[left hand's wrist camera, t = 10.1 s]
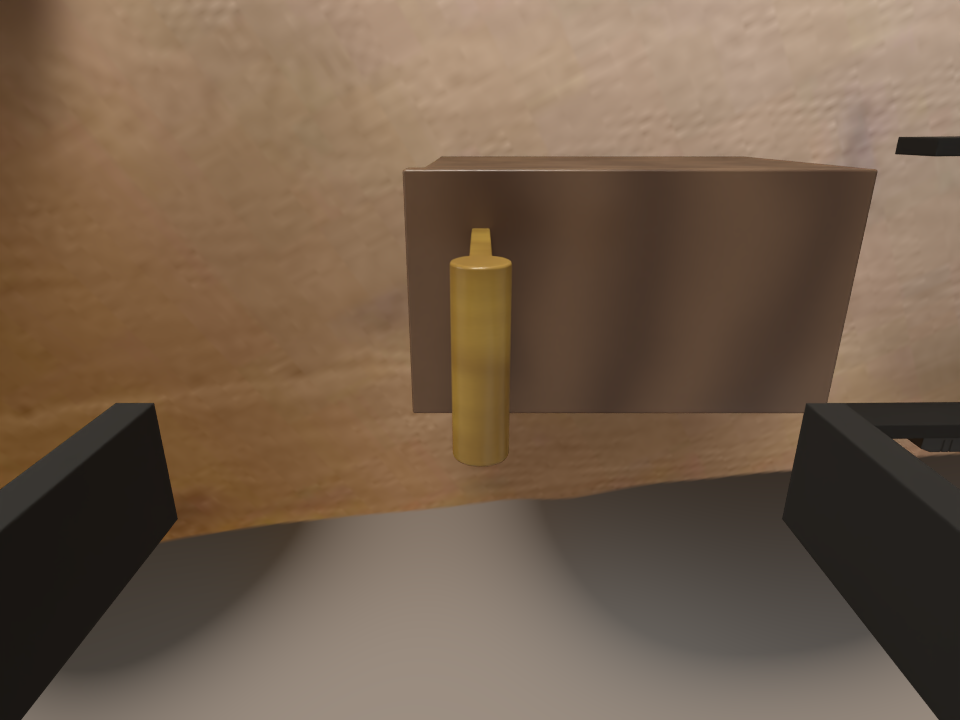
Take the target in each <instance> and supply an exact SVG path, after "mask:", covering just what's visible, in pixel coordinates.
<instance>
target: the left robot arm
mask: <svg viewBox="0 0 960 720" xmlns="http://www.w3.org/2000/svg"><path fill="white" fill-rule="evenodd" d="M177 519H178V518H177V513H176V508H175V503H174V498H173V494H172V489H171V484H170V479H169V474H168V469H167V464H166V459H165V454H164V449H163V445H162V440H161V435H160V430H159V425H158V420H157V415H156V410H155V405H154V403H116V404H114V405H113V406H111V407H110V408H109V409H107V410H106V411H105V412H103V413H102V414H101V415H99V416H98V417H97V418H95V419H94V420H93V421H91V422H90V423H89V424H87V425H86V426H85V427H83V428H82V429H81V430H79V431H78V432H77V433H75V434H74V435H73V436H71V437H70V438H69V439H67V440H66V441H65V442H63V443H62V444H61V445H59V446H58V447H57V448H55V449H54V450H53V451H51V452H50V453H49V454H47V455H46V456H45V457H43V458H42V459H41V460H39V461H38V462H36V463H35V464H34V465H32V466H31V467H30V468H28V469H27V470H26V471H24V472H23V473H22V474H20V475H19V476H18V477H16V478H15V479H14V480H12V481H11V482H10V483H8V484H7V485H6V486H4V487H3V488H2V489H0V720H21V719H22V718H23V717H24V715H25V714H26V713H27V712H28V710H29V709H30V708H31V706H32V705H33V704H34V703H35V701H36V700H37V699H38V697H39V696H40V695H41V694H42V692H43V691H44V690H45V689H46V687H47V686H48V685H49V683H50V682H51V681H52V680H53V678H54V677H55V676H56V674H57V673H58V672H59V670H60V669H61V668H62V667H63V665H64V664H65V663H66V662H67V660H68V659H69V658H70V656H71V655H72V654H73V653H74V651H75V650H76V649H77V647H78V646H79V645H80V644H81V642H82V641H83V640H84V638H85V637H86V636H87V635H88V633H89V632H90V631H91V630H92V628H93V627H94V626H95V624H96V623H97V622H98V621H99V619H100V618H101V617H102V615H103V614H104V613H105V612H106V610H107V609H108V608H109V606H110V605H111V604H112V602H113V601H114V600H115V599H116V597H117V596H118V595H119V594H120V592H121V591H122V590H123V588H124V587H125V586H126V585H127V583H128V582H129V581H130V580H131V578H132V577H133V576H134V574H135V573H136V572H137V571H138V569H139V568H140V567H141V565H142V564H143V563H144V562H145V560H146V559H147V558H148V556H149V555H150V554H151V552H152V551H153V550H154V549H155V547H156V546H157V545H158V544H159V542H160V541H161V540H162V538H163V537H164V536H165V535H166V533H167V532H168V531H169V529H170V528H171V527H172V526H173V524H174V523H175V522H176V521H177ZM782 519H783V520H784V522H785V523H786V524H787V526H788V527H789V528H790V529H791V531H792V532H793V533H794V535H795V536H796V537H797V538H798V540H799V541H800V542H801V544H802V545H803V546H804V547H805V549H806V550H807V551H808V553H809V554H810V555H811V556H812V558H813V559H814V560H815V562H816V563H817V564H818V565H819V567H820V568H821V569H822V571H823V572H824V573H825V574H826V576H827V577H828V578H829V580H830V581H831V582H832V583H833V585H834V586H835V587H836V588H837V590H838V591H839V592H840V594H841V595H842V596H843V597H844V599H845V600H846V601H847V603H848V604H849V605H850V606H851V608H852V609H853V610H854V612H855V613H856V614H857V615H858V617H859V618H860V619H861V621H862V622H863V623H864V624H865V626H866V627H867V628H868V630H869V631H870V632H871V633H872V635H873V636H874V637H875V638H876V640H877V641H878V642H879V644H880V645H881V646H882V647H883V649H884V650H885V651H886V653H887V654H888V655H889V656H890V658H891V659H892V660H893V662H894V663H895V664H896V665H897V667H898V668H899V669H900V671H901V672H902V673H903V674H904V676H905V677H906V678H907V680H908V681H909V682H910V683H911V685H912V686H913V687H914V688H915V690H916V691H917V692H918V693H919V695H920V696H921V697H922V699H923V700H924V701H925V703H926V704H927V705H928V706H929V708H930V709H931V710H932V712H933V713H934V714H935V715H936V717H937V718H938V719H939V720H960V489H958V488H957V487H956V486H954V485H953V484H952V483H950V482H949V481H948V480H946V479H945V478H944V477H942V476H941V475H940V474H938V473H937V472H936V471H934V470H933V469H932V468H930V467H929V466H927V465H926V464H925V463H923V462H922V461H921V460H919V459H918V458H917V457H915V456H914V455H913V454H911V453H910V452H909V451H907V450H906V449H905V448H903V447H902V446H901V445H899V444H898V443H897V442H895V441H894V440H893V439H891V438H890V437H889V436H887V435H886V434H885V433H883V432H882V431H881V430H879V429H878V428H877V427H875V426H874V425H873V424H871V423H870V422H869V421H867V420H866V419H865V418H863V417H862V416H861V415H859V414H858V413H857V412H855V411H854V410H853V409H851V408H850V407H849V406H847V405H846V404H844V403H806V405H805V410H804V415H803V420H802V425H801V430H800V435H799V440H798V445H797V449H796V454H795V459H794V464H793V469H792V474H791V479H790V484H789V489H788V494H787V498H786V503H785V508H784V513H783V518H782Z"/></svg>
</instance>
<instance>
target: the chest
mask: <svg viewBox="0 0 960 720" xmlns="http://www.w3.org/2000/svg"><path fill="white" fill-rule="evenodd" d="M425 168H855V167H845V166H834V165H824V164H814V163H803V162H793V161H783V160H772V159H762V158H752V157H440V158H439V159H438V160H436V161H435V162H433V163H431V164H430V165H428V166H427V167H425Z"/></svg>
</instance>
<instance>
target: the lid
mask: <svg viewBox="0 0 960 720" xmlns="http://www.w3.org/2000/svg"><path fill="white" fill-rule="evenodd" d="M876 176H877V170H875V169H865V168H407V169H405V170H403V188H404V212H405V236H406V259H407V283H408V307H409V330H410V354H411V378H412V402H413V412H414V413H452V432H453V455H454V457H455V458H456V459H457V460H458V461H459V462H461V463H463V464H466V465H469V466H476V467H486V466H492V465H496V464H498V463H501V462H502V461H504V460H505V459H506V457H507V456H508V453H509V413H804V410H805V405H806V403H827V401H828V396H829V392H830V387H831V382H832V378H833V373H834V369H835V364H836V359H837V355H838V350H839V346H840V341H841V336H842V332H843V327H844V323H845V318H846V313H847V309H848V304H849V300H850V295H851V291H852V286H853V281H854V277H855V272H856V268H857V263H858V258H859V254H860V249H861V245H862V240H863V235H864V231H865V226H866V222H867V217H868V212H869V208H870V203H871V199H872V194H873V189H874V185H875V180H876Z"/></svg>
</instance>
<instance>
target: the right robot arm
mask: <svg viewBox="0 0 960 720" xmlns="http://www.w3.org/2000/svg"><path fill="white" fill-rule="evenodd" d="M895 154H903V155H921V156H960V136H958V137H899V139H898V143H897V148H896V152H895ZM844 404H846V405H847V406H849V407H850V408H851V409H853V410H854V411H855V412H857V413H858V414H859V415H861V416H862V417H863V418H865V419H866V420H867V421H869V422H870V423H871V424H873V425H874V426H875V427H877V428H878V429H879V430H881V431H882V432H883V433H885V434H886V435H887V436H889V437H890V438H891V439H908V440H910V441H911V442H913V443H914V444H915V445H917V446H918V447H919V448H921V449H923V450H926V451H929V452H940V451H941V452H948V451H949V452H960V402H925V403H844Z"/></svg>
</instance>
